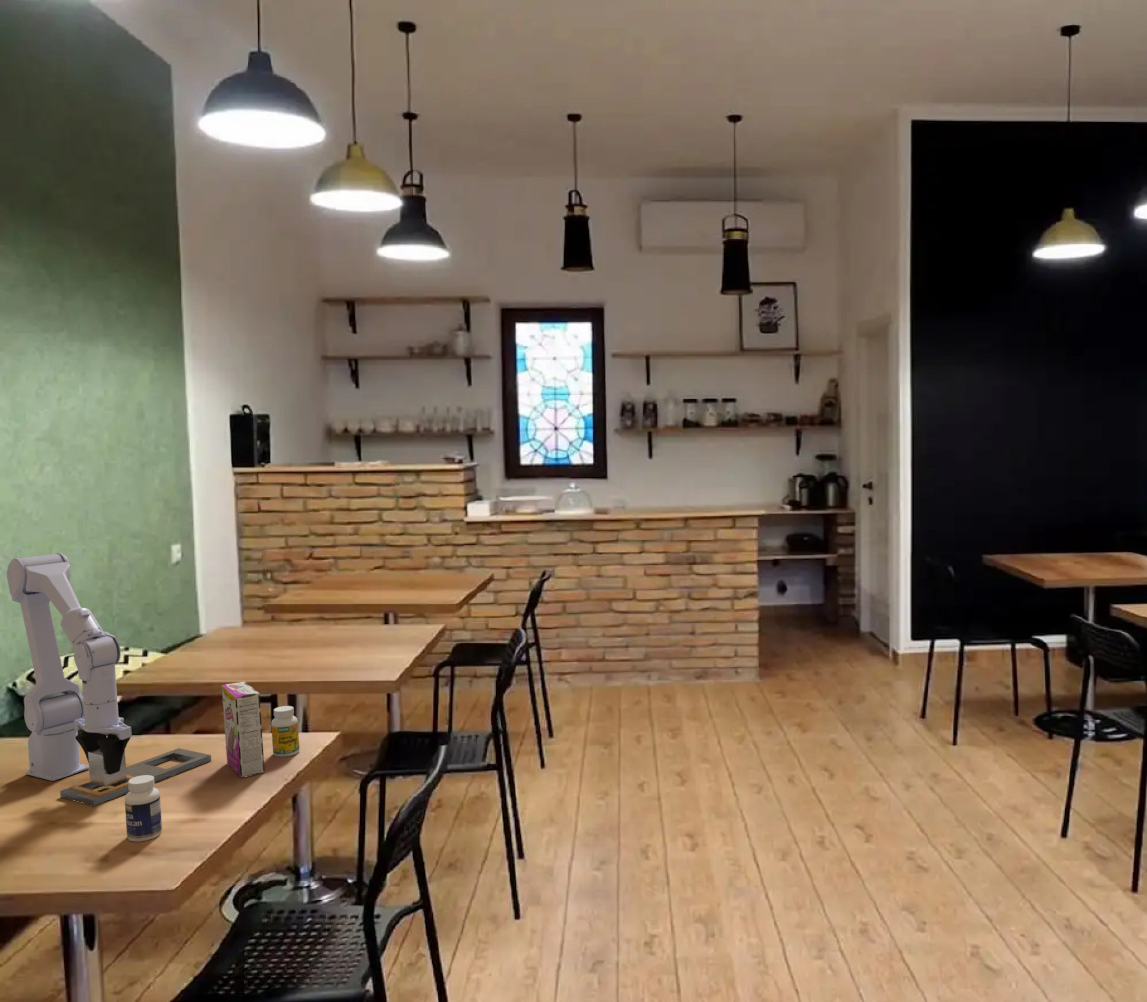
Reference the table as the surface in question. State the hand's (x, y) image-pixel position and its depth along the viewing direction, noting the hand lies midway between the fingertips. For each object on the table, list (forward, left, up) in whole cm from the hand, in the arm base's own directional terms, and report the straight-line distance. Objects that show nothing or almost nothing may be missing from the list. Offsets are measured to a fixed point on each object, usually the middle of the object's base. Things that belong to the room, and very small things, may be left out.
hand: (105, 770), depth 178 cm
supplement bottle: (+16, +30, -4) cm, 34 cm away
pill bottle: (+25, -10, -4) cm, 27 cm away
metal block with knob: (0, +1, -2) cm, 2 cm away
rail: (0, +7, -4) cm, 8 cm away
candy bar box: (+15, +20, -4) cm, 25 cm away
